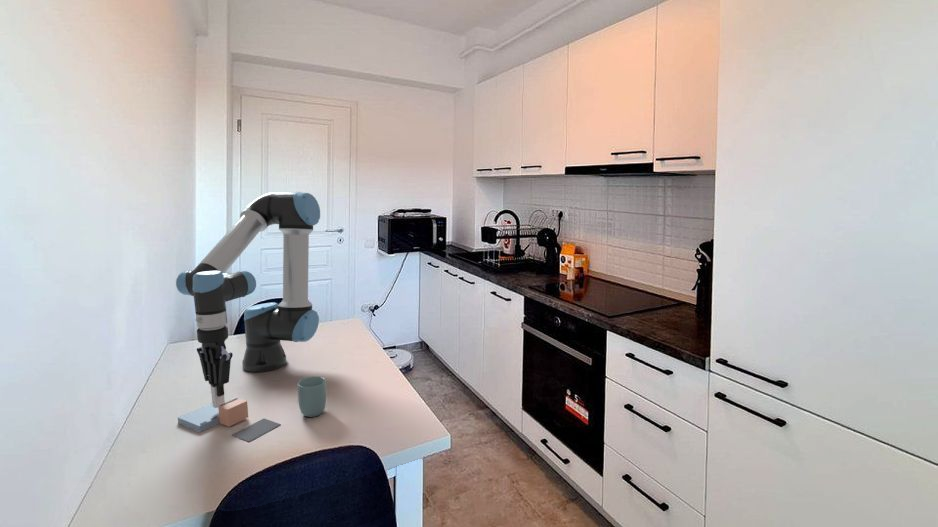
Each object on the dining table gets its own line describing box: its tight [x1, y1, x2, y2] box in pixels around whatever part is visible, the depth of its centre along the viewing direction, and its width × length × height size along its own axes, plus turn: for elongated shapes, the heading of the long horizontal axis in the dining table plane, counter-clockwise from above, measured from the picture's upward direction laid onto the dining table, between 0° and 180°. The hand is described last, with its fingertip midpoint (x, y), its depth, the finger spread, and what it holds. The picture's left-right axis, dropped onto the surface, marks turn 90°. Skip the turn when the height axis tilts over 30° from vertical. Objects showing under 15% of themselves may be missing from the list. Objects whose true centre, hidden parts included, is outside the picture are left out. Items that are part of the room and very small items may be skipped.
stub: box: [218, 397, 249, 427], centre depth 126 cm, size 4×6×5 cm, turn 153°
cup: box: [297, 375, 327, 418], centre depth 131 cm, size 8×8×10 cm
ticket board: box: [177, 402, 221, 433], centre depth 129 cm, size 10×12×2 cm
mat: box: [231, 418, 281, 443], centre depth 123 cm, size 7×10×1 cm
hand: (218, 405), depth 129 cm, fingers closed
